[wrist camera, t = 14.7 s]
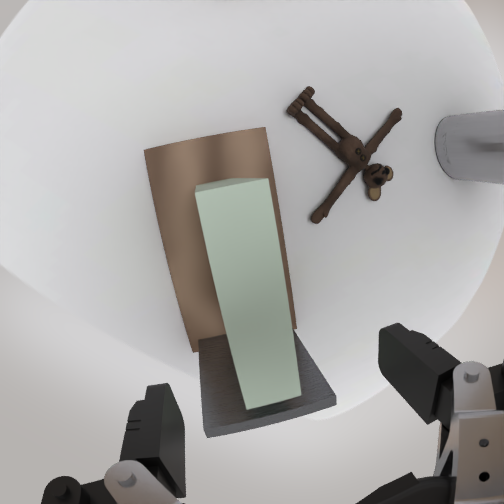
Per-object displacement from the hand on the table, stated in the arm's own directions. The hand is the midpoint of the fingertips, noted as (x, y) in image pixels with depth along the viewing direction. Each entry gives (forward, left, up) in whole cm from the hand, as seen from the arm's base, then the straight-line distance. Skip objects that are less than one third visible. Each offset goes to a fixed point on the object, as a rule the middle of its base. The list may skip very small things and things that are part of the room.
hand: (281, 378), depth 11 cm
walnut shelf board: (0, 0, -24) cm, 24 cm away
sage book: (0, 0, -22) cm, 22 cm away
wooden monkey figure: (-15, -8, -24) cm, 30 cm away
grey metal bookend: (0, +10, -22) cm, 24 cm away
